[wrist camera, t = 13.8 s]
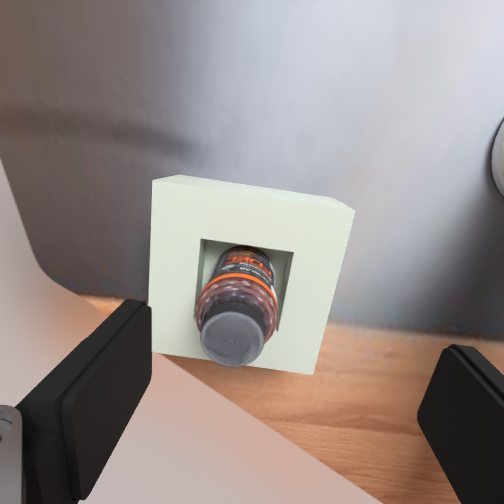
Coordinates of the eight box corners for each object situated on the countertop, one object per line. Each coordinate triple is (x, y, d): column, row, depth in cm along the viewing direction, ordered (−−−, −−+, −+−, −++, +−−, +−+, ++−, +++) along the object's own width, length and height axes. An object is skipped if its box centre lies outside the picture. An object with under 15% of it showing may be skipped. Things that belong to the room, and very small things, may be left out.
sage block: (333, 197, 30) (355, 210, 23) (302, 330, 35) (312, 374, 28) (178, 174, 29) (152, 180, 22) (170, 311, 34) (146, 351, 27)
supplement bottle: (278, 246, 27) (289, 304, 17) (270, 302, 29) (275, 387, 18) (216, 239, 27) (186, 292, 17) (211, 295, 29) (182, 376, 18)
